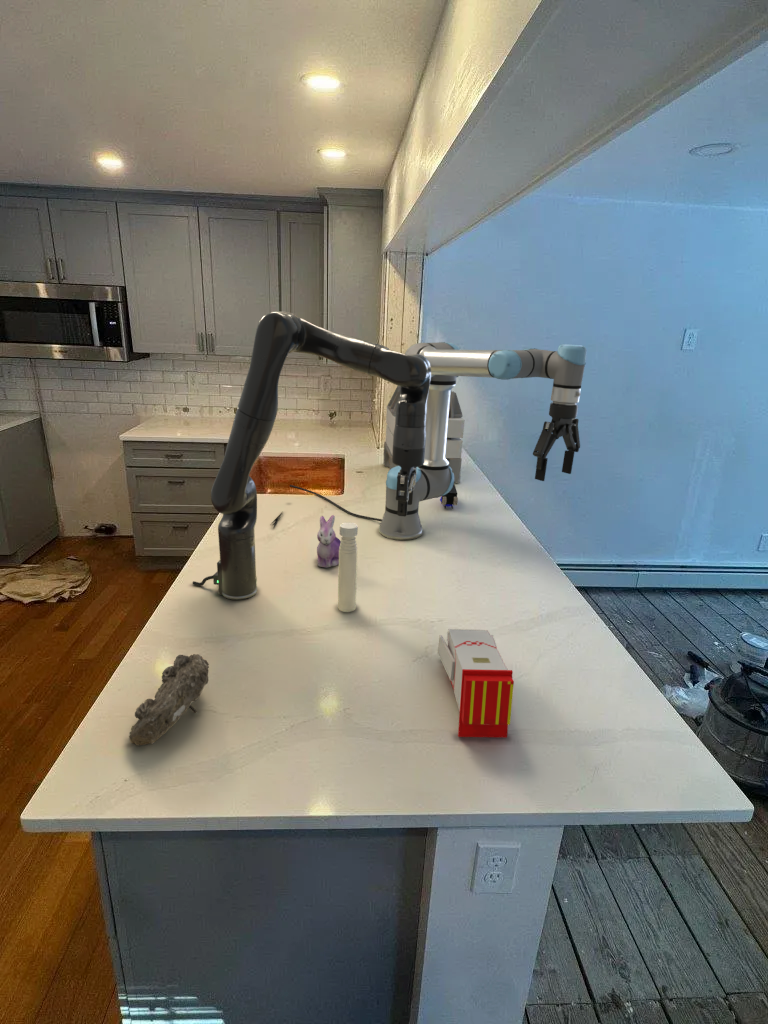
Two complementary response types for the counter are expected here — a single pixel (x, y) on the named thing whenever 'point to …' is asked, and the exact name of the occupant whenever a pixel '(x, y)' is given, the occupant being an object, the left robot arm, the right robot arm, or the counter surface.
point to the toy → (478, 682)
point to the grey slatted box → (453, 434)
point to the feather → (276, 520)
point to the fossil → (170, 698)
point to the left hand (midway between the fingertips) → (405, 509)
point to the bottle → (347, 574)
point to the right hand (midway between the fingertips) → (553, 476)
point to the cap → (348, 529)
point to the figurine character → (450, 498)
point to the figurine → (327, 544)
